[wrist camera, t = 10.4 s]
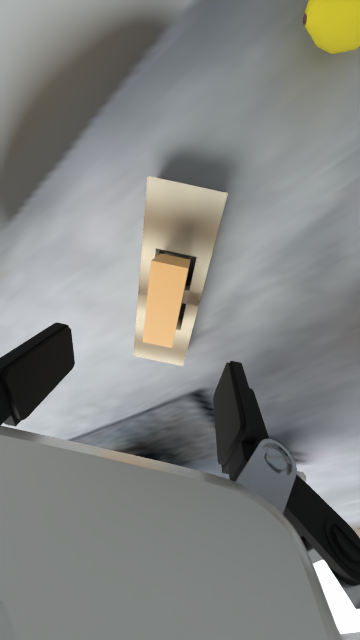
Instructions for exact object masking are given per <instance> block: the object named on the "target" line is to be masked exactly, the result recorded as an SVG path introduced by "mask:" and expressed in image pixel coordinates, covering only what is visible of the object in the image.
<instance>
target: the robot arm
mask: <svg viewBox="0 0 360 640" xmlns="http://www.w3.org/2000/svg"><path fill="white" fill-rule="evenodd" d="M74 364H75V361H74V352H73V343H72V334H71V329H70V328H69V326H68V325H66V324H61V323H54V324H53V325H51V326H50V327H48V328H47V329H45V330H43V331H42V332H40V333H39V334H37V335H35V336H34V337H32V338H31V339H29V340H28V341H26V342H24V343H23V344H21V345H20V346H18V347H17V348H15V349H13V350H12V351H10V352H9V353H7V354H6V355H4V356H2V357H1V358H0V425H1V424H2V423H3V422H4V424H7V425H12V426H16V425H17V424H18V423H19V422H20V421H21V420H24V419H26V418H27V417H28V416H29V415H30V414H31V413H32V412H33V411H34V409H35V408H36V407H37V406H38V405H39V404H40V403H41V402H42V401H43V400H44V399H45V398H46V397H47V395H48V394H49V393H50V392H51V391H52V390H53V389H54V388H55V387H56V386H57V385H58V384H59V383H60V381H61V380H62V379H63V378H64V377H65V376H66V375H67V374H68V373H69V372H70V371H71V370H72V368H73V367H74ZM213 401H214V414H215V428H216V442H217V455H218V463H219V464H221V465H222V473H226V474H229V477H230V480H229V479H226V478H222V477H219V476H216V475H213V474H209V473H205V472H201V471H197V470H193V469H189V468H185V467H181V466H177V465H173V464H169V463H165V462H160V461H156V460H152V459H147V458H143V457H139V456H134V455H130V454H126V453H121V452H117V451H112V450H108V449H103V448H99V447H95V446H90V445H86V444H81V443H77V442H72V441H68V440H63V439H59V438H54V437H50V436H45V435H40V434H36V433H31V432H27V431H22V430H18V429H13V428H8V427H4V426H0V640H360V538H359V537H358V535H357V534H356V533H355V532H354V530H353V529H352V528H351V527H350V526H349V525H348V524H347V523H346V522H345V521H344V520H343V519H342V518H341V517H340V516H339V515H338V514H337V513H336V512H335V511H334V510H333V509H332V508H331V507H330V506H329V505H328V504H327V503H326V502H325V501H324V500H323V499H322V498H321V497H320V496H319V495H318V494H317V493H316V492H315V491H314V490H313V489H312V488H311V487H310V486H309V485H308V484H307V483H306V482H305V481H306V476H305V474H304V473H303V472H299V471H297V468H296V463H295V461H294V459H293V457H292V456H291V454H290V453H289V451H288V450H287V449H286V448H285V447H284V446H283V445H281V444H280V443H279V442H277V441H275V440H272V439H269V437H268V434H267V431H266V428H265V425H264V421H263V418H262V415H261V412H260V409H259V406H258V403H257V400H256V397H255V394H254V391H253V390H252V389H250V388H249V386H248V383H247V380H246V376H245V373H244V370H243V366H242V364H241V363H239V362H235V361H230V363H226V366H225V368H224V371H223V373H222V376H221V378H220V381H219V383H218V386H217V388H216V391H215V393H214V398H213Z"/></svg>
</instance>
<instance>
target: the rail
mask: <svg viewBox="0 0 360 640" xmlns="http://www.w3.org/2000/svg"><path fill="white" fill-rule="evenodd" d="M227 195H228V193H225V192H221V191H216V190H211V189H207V188H202V187H197V186H193V185H188V184H183V183H179V182H174V181H169V180H165V179H160V178H155V177H151V176H148V177H147V190H146V203H145V215H144V228H143V241H142V254H141V266H140V279H139V292H138V304H137V317H136V330H135V343H134V355H133V356H137V357H142V358H147V359H152V360H156V361H161V362H166V363H171V364H175V365H180V366H183V364H184V360H185V356H186V353H187V349H188V345H189V341H190V337H191V333H192V330H193V326H194V322H195V318H196V314H197V310H198V306H199V303H200V299H201V295H202V291H203V287H204V283H205V279H206V276H207V272H208V268H209V264H210V260H211V256H212V252H213V249H214V245H215V241H216V237H217V233H218V229H219V226H220V222H221V218H222V214H223V210H224V206H225V202H226V199H227ZM161 250H166V251H171V252H175V253H180V254H185V255H189V256H194V257H196V261H195V265H194V270H193V274H192V279H191V283H188V282H186V284H185V289H184V294H183V298H182V303H184V304H186V306H185V310H184V315H183V319H180V318H178V323H177V327H176V332H175V336H174V341H173V345H172V348H169V347H164V346H159V345H155V344H150V343H145V342H143V333H144V323H145V314H146V304H147V295H148V285H149V276H150V266H151V260H152V259H154V258H155V257H157V256H158V255H159V254H160V253H161Z"/></svg>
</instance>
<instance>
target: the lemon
mask: <svg viewBox="0 0 360 640" xmlns="http://www.w3.org/2000/svg"><path fill="white" fill-rule="evenodd" d="M303 25H304V26H305V28H306V29H307V31H308V33H309V34H310V36H311V38H312V39H313V41H314V43H315V44H316V46H317V47H318V48H320V49H322V50H325V51H327V52H329V53H331V54H336V53H341V52H346V51H351V50H355V49H356V48H358V47H359V46H360V0H309V1H308V4H307V8H306V11H305V14H304V17H303Z"/></svg>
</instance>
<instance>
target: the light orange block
mask: <svg viewBox="0 0 360 640" xmlns="http://www.w3.org/2000/svg"><path fill="white" fill-rule="evenodd" d="M190 261H191V256H187V255H182V254H177V253H173V252H168V251H166V252H164V253H163V254H159V255H158V256H157V257H155V258H154V259H152V260H151V266H150V276H149V285H148V295H147V304H146V314H145V323H144V333H143V342H145V343H150V344H155V345H159V346H164V347H169V348H172V345H173V341H174V336H175V332H176V327H177V323H178V318H179V314H180V309H181V304H182V298H183V294H184V289H185V284H186V280H187V275H188V271H189V266H190Z"/></svg>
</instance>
